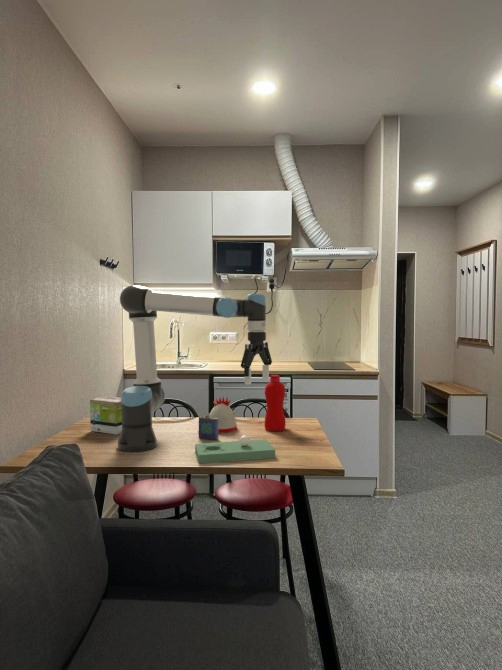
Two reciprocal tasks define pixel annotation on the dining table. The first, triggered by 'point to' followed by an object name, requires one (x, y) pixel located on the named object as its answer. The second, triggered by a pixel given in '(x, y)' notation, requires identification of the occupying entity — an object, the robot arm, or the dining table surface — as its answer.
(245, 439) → the ball
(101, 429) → the tea box
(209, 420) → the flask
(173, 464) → the dining table surface
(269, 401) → the water bottle
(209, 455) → the putting mat
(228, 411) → the kitchen timer
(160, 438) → the dining table surface
